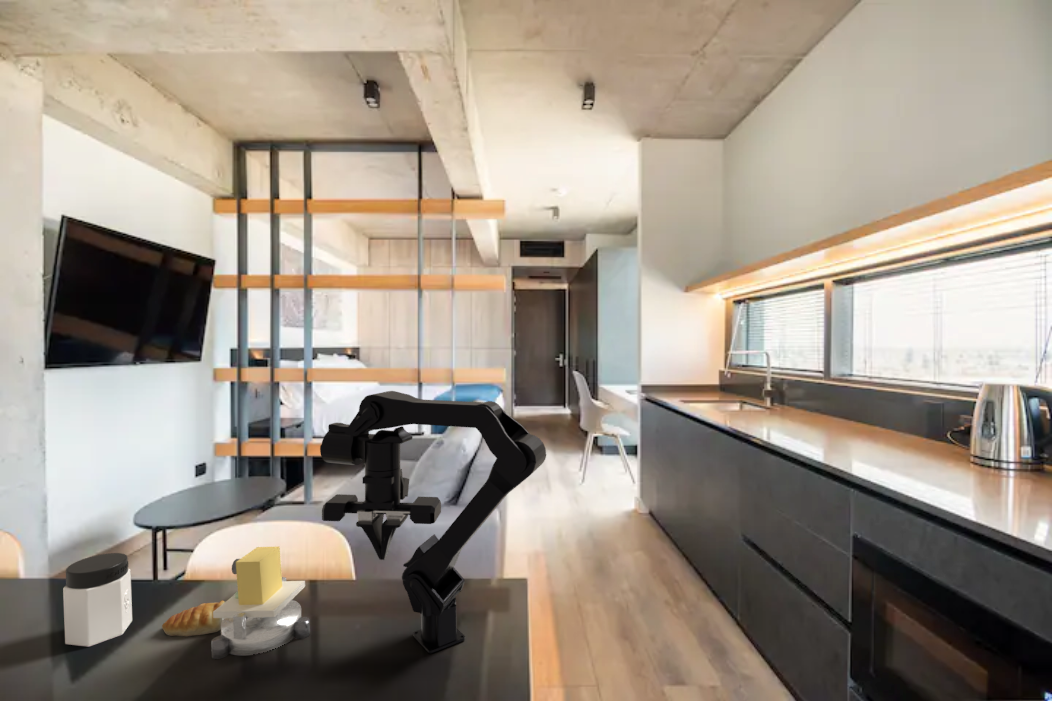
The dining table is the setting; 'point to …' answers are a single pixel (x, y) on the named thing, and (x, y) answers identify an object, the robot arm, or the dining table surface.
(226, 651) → the tribrach base
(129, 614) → the jar
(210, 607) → the pastry
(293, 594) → the instrument
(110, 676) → the dining table surface
